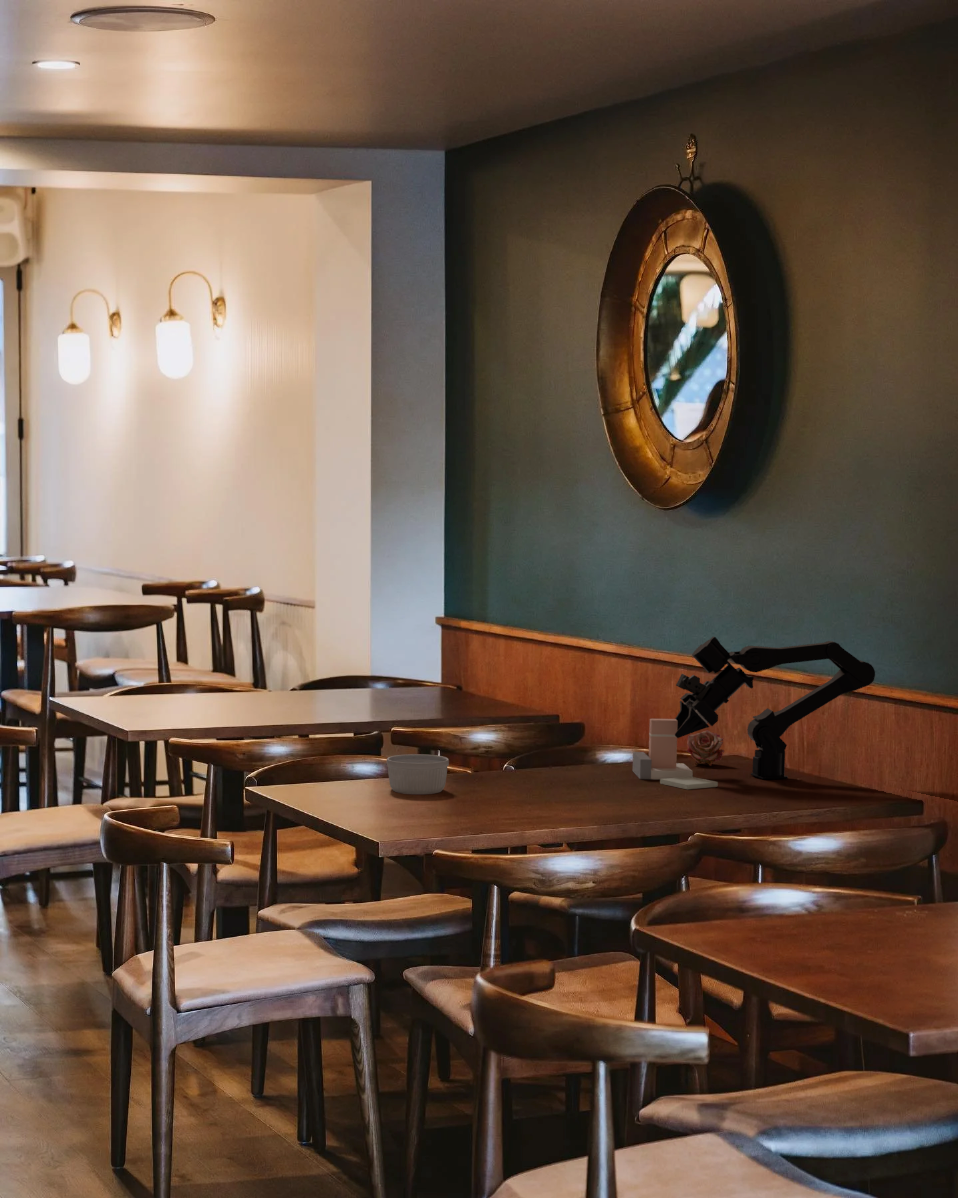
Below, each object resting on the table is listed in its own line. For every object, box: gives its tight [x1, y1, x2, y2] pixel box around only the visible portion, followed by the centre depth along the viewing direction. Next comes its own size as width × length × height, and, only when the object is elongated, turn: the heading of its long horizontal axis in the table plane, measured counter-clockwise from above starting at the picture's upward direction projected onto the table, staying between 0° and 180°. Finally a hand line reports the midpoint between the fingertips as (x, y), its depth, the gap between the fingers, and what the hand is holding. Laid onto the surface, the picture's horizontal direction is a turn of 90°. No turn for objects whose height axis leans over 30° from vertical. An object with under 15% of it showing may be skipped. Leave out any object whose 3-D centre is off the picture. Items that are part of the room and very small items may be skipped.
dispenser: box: [632, 751, 694, 780], centre depth 375 cm, size 12×12×4 cm
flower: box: [685, 729, 725, 767], centre depth 394 cm, size 10×9×8 cm
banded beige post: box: [648, 718, 678, 768], centre depth 374 cm, size 6×3×13 cm, turn 93°
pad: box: [659, 776, 719, 790], centre depth 362 cm, size 9×9×1 cm
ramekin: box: [386, 753, 450, 795], centre depth 345 cm, size 13×13×7 cm
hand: (672, 734), depth 374 cm, fingers open, 9 cm apart
